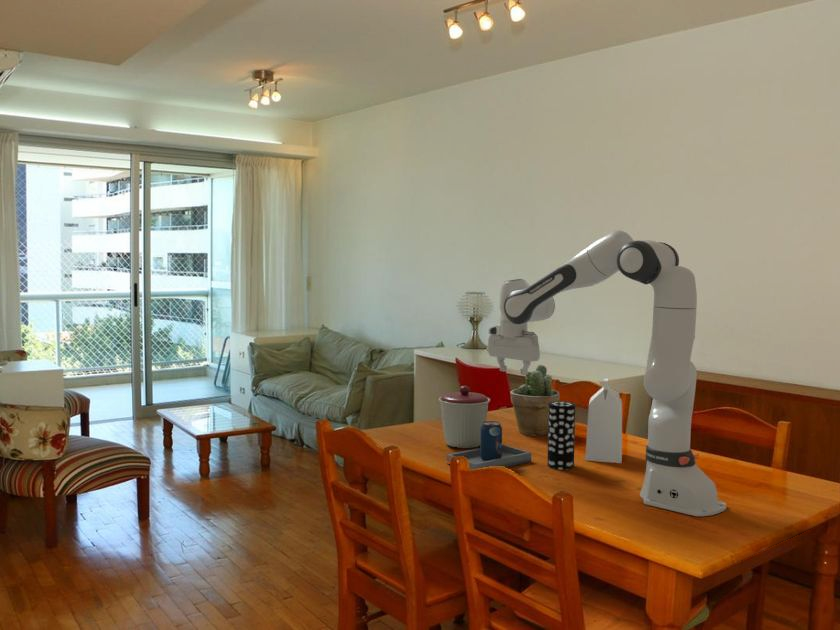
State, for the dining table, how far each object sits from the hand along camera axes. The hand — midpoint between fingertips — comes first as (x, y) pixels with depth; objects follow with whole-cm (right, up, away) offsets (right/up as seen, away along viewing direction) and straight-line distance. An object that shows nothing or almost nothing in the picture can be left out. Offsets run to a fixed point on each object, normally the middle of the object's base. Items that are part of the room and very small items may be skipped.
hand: (513, 372), depth 238 cm
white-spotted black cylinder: (+15, -30, -3) cm, 33 cm away
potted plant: (+13, -26, +42) cm, 51 cm away
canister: (-15, -28, +23) cm, 39 cm away
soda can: (-7, -28, 0) cm, 29 cm away
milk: (+31, -29, +8) cm, 43 cm away
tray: (-8, -29, 0) cm, 30 cm away
